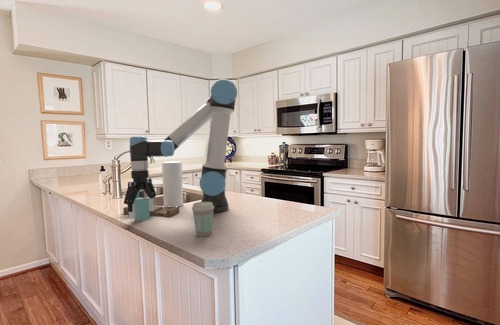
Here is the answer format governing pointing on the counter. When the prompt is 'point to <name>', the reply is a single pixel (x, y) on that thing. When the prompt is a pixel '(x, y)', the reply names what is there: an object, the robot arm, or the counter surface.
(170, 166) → the tall pillar cylinder
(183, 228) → the counter surface
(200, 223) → the coffee cup
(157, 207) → the rail
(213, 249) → the counter surface
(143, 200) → the block
